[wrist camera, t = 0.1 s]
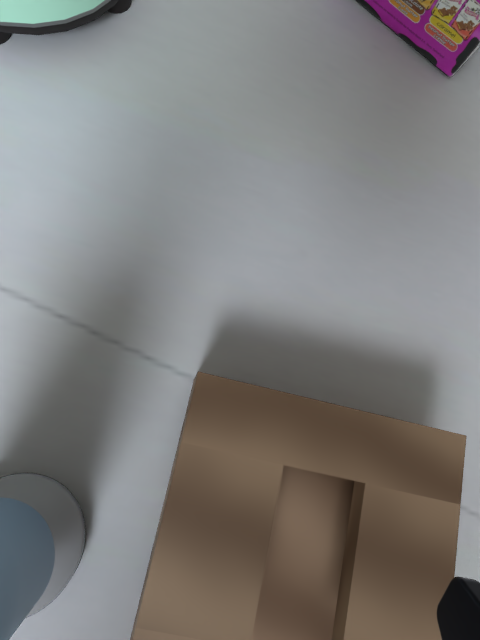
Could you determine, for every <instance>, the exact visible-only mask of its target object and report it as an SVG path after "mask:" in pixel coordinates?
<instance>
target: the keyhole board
mask: <svg viewBox="0 0 480 640" xmlns="http://www.w3.org/2000/svg"><path fill="white" fill-rule="evenodd" d="M465 445H466V436H465V435H461V434H457V433H453V432H448V431H444V430H440V429H436V428H432V427H427V426H423V425H419V424H415V423H411V422H407V421H402V420H398V419H394V418H390V417H386V416H382V415H377V414H373V413H369V412H365V411H361V410H356V409H352V408H348V407H344V406H340V405H336V404H331V403H327V402H323V401H319V400H315V399H311V398H306V397H302V396H298V395H294V394H290V393H285V392H281V391H277V390H273V389H269V388H265V387H260V386H256V385H252V384H248V383H244V382H240V381H235V380H231V379H227V378H223V377H219V376H214V375H210V374H206V373H202V372H198V373H197V375H196V377H195V379H194V382H193V386H192V390H191V394H190V398H189V402H188V407H187V411H186V415H185V419H184V423H183V427H182V431H181V435H180V439H179V443H178V447H177V451H176V455H175V459H174V463H173V467H172V471H171V476H170V480H169V484H168V488H167V492H166V496H165V500H164V504H163V508H162V512H161V516H160V520H159V524H158V528H157V532H156V536H155V541H154V545H153V549H152V553H151V557H150V561H149V565H148V569H147V573H146V577H145V581H144V585H143V589H142V593H141V597H140V601H139V605H138V610H137V614H136V618H135V622H134V626H133V630H132V634H131V638H130V640H442V638H441V634H440V630H439V626H438V621H437V606H438V604H439V602H440V600H441V598H442V596H443V594H444V593H445V591H446V589H447V587H448V585H449V583H450V581H451V580H452V579H453V578H454V573H455V561H456V550H457V538H458V527H459V515H460V503H461V492H462V480H463V468H464V457H465Z"/></svg>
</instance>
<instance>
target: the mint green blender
mask: <svg viewBox="0 0 480 640" xmlns="http://www.w3.org/2000/svg"><path fill="white" fill-rule="evenodd" d="M130 4H131V0H0V44H2V43H4V42H6V41H7V40H8V39H9V38H10V35H11V33H16V34H31V35H43V34H50V33H56V32H63V31H68V30H71V29H73V28H76V27H78V26H81V25H83V24H86V23H89V22H91V21H94V20H95V19H97V18H98V17H99V16H101V15H102V14H103V13H105V12H106V11H108V12H112V13H122V12H124V11H126V10H127V9H128V8H129V7H130Z"/></svg>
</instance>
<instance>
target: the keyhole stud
mask: <svg viewBox="0 0 480 640" xmlns="http://www.w3.org/2000/svg"><path fill="white" fill-rule="evenodd" d="M84 545H85V522H84V517H83V514H82V511H81V508H80V506H79V504H78V502H77V501H76V499H75V497H74V496H73V495H72V494H71V492H70V491H69V490H68V489H67V488H66V487H64V486H63V485H62V484H61V483H59V482H57V481H56V480H54V479H52V478H49V477H47V476H43V475H40V474H33V473H20V474H13V475H9V476H5V477H2V478H0V640H9V639H10V637H11V636H12V635H13V633H14V632H15V631H16V629H17V628H18V627H19V625H20V624H21V623H22V621H23V620H24V619H25V618H27V617H29V616H31V615H34V614H35V613H37V612H39V611H40V610H42V609H44V608H45V607H46V606H47V605H49V604H50V603H51V602H52V601H53V600H54V599H55V598H56V597H57V596H58V595H59V594H60V593H61V592H62V590H63V589H64V588H65V587H66V585H67V584H68V582H69V580H70V579H71V577H72V576H73V574H74V573H75V571H76V569H77V567H78V565H79V563H80V560H81V557H82V554H83V550H84Z"/></svg>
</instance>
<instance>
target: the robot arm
mask: <svg viewBox="0 0 480 640" xmlns="http://www.w3.org/2000/svg"><path fill="white" fill-rule="evenodd" d="M437 621H438V626H439V630H440V634H441V638H442V640H480V583H479V582H478V581H476V580H473V579H468V578H462V577H455V578H453V579H452V580H451V581H450V583H449V585H448V587H447V589H446V591H445V593H444V594H443V596H442V598H441V600H440V602H439V604H438V606H437Z"/></svg>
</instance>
